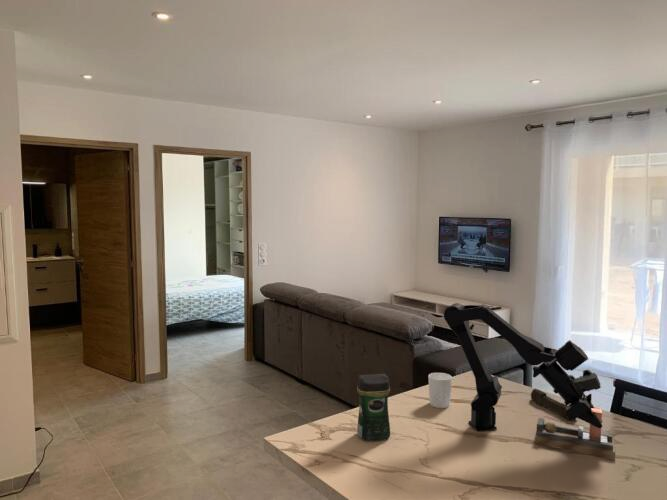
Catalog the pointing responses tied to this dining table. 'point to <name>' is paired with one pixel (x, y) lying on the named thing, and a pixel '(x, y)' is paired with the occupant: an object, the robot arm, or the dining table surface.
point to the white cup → (440, 389)
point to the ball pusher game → (573, 441)
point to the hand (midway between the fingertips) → (601, 425)
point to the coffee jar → (373, 407)
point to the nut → (550, 427)
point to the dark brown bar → (548, 402)
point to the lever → (593, 430)
